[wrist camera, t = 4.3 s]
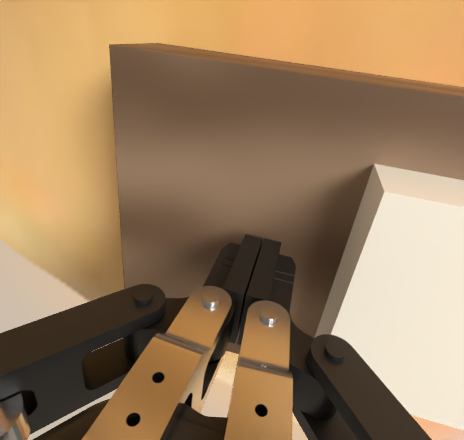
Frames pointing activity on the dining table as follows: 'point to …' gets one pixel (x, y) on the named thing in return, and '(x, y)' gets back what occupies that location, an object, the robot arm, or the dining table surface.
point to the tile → (406, 290)
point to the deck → (260, 160)
